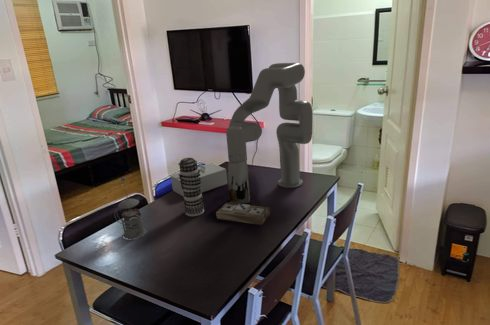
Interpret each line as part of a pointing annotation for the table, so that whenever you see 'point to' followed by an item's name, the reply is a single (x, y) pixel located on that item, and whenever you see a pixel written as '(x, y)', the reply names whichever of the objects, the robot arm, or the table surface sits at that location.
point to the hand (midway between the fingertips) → (240, 198)
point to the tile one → (229, 208)
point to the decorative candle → (191, 187)
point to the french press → (135, 229)
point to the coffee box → (233, 193)
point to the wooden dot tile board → (243, 215)
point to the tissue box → (204, 178)
